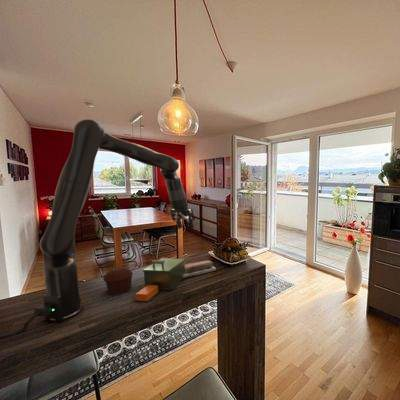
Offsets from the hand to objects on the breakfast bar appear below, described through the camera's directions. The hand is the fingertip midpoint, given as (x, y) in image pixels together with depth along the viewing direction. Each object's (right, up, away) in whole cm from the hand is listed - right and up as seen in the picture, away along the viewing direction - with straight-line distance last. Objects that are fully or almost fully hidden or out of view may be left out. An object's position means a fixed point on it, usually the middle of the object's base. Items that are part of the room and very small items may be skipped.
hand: (185, 228), depth 116 cm
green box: (-9, -26, -3) cm, 28 cm away
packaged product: (+3, -25, +9) cm, 27 cm away
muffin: (-28, -27, -10) cm, 40 cm away
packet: (-11, -28, -16) cm, 34 cm away
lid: (-9, -18, -5) cm, 20 cm away
